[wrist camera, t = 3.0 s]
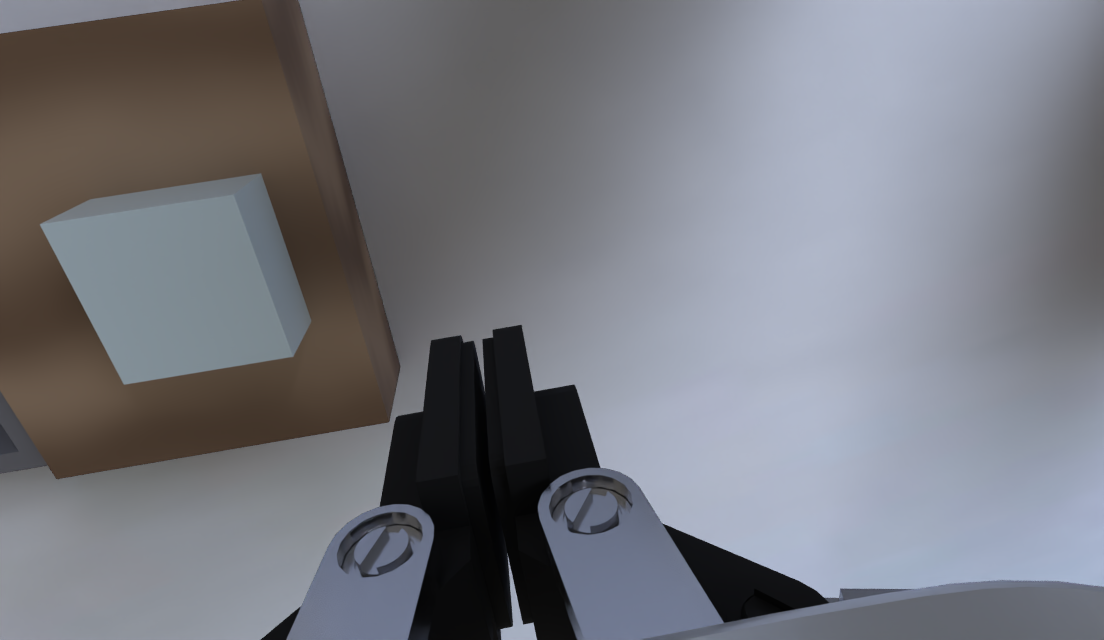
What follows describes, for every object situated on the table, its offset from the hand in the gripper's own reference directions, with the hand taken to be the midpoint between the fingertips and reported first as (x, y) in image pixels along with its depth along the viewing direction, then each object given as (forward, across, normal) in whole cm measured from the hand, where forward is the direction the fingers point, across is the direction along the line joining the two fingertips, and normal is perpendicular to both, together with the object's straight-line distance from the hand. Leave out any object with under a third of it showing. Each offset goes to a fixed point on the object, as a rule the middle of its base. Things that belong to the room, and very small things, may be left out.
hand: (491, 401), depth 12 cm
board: (+14, +10, -1) cm, 17 cm away
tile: (+10, +8, -1) cm, 13 cm away
